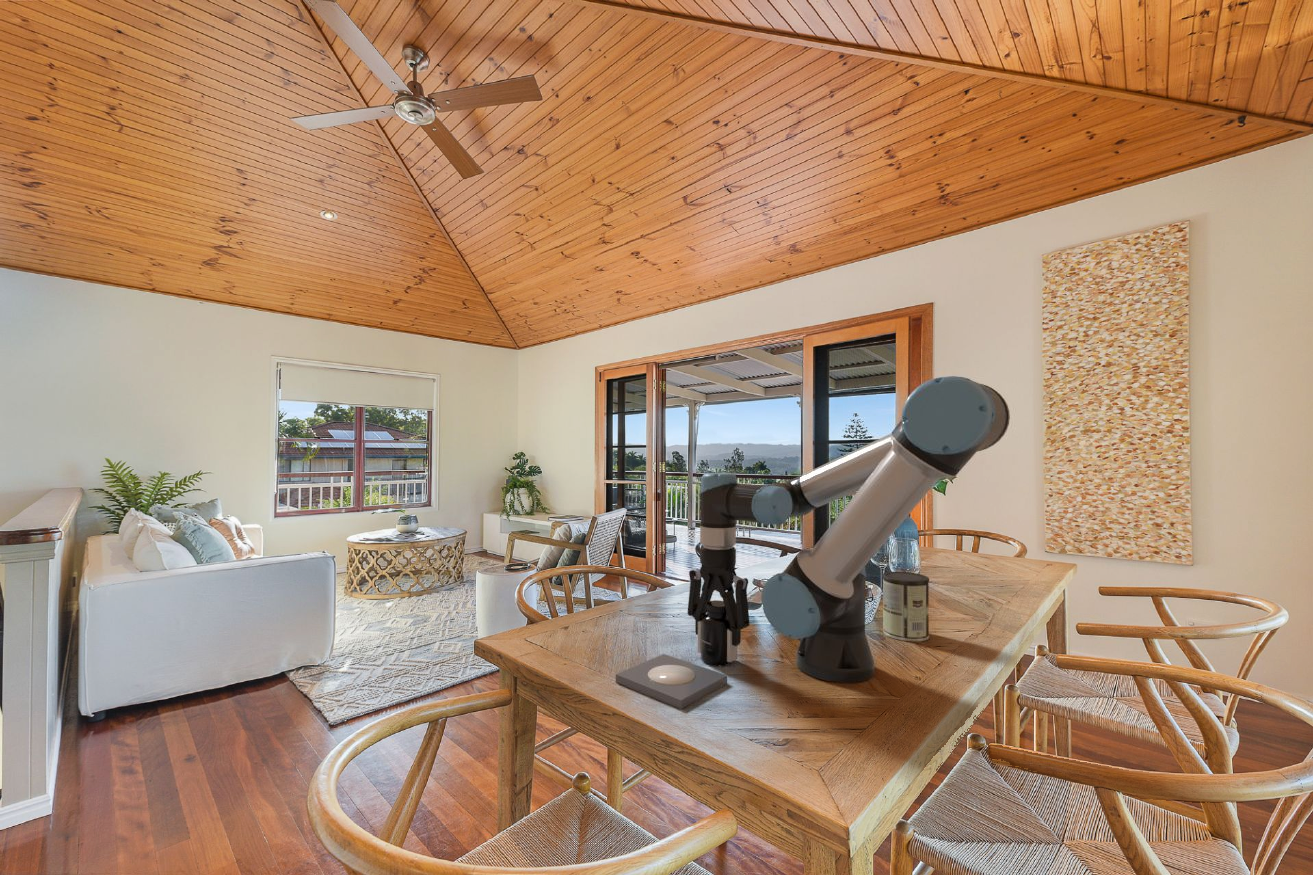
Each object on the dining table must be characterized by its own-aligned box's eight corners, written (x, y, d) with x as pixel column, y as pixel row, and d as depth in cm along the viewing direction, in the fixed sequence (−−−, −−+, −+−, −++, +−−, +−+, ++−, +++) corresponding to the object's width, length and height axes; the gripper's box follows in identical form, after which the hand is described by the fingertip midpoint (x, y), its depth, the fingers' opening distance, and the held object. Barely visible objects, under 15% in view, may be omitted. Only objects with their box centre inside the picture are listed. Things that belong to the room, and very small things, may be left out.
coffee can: (898, 624, 142) (898, 569, 142) (937, 636, 133) (938, 577, 134) (873, 632, 136) (873, 574, 136) (913, 645, 128) (913, 583, 128)
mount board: (727, 683, 106) (727, 674, 106) (680, 708, 96) (680, 699, 96) (663, 660, 117) (663, 653, 117) (615, 682, 107) (615, 673, 107)
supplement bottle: (696, 663, 116) (697, 605, 116) (705, 652, 122) (706, 597, 122) (729, 668, 113) (729, 609, 113) (736, 656, 120) (737, 600, 120)
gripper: (768, 549, 114) (767, 662, 114) (691, 538, 127) (691, 639, 127) (748, 555, 109) (747, 673, 108) (670, 542, 122) (669, 648, 122)
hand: (717, 655), depth 118 cm, fingers closed on supplement bottle, 7 cm apart
